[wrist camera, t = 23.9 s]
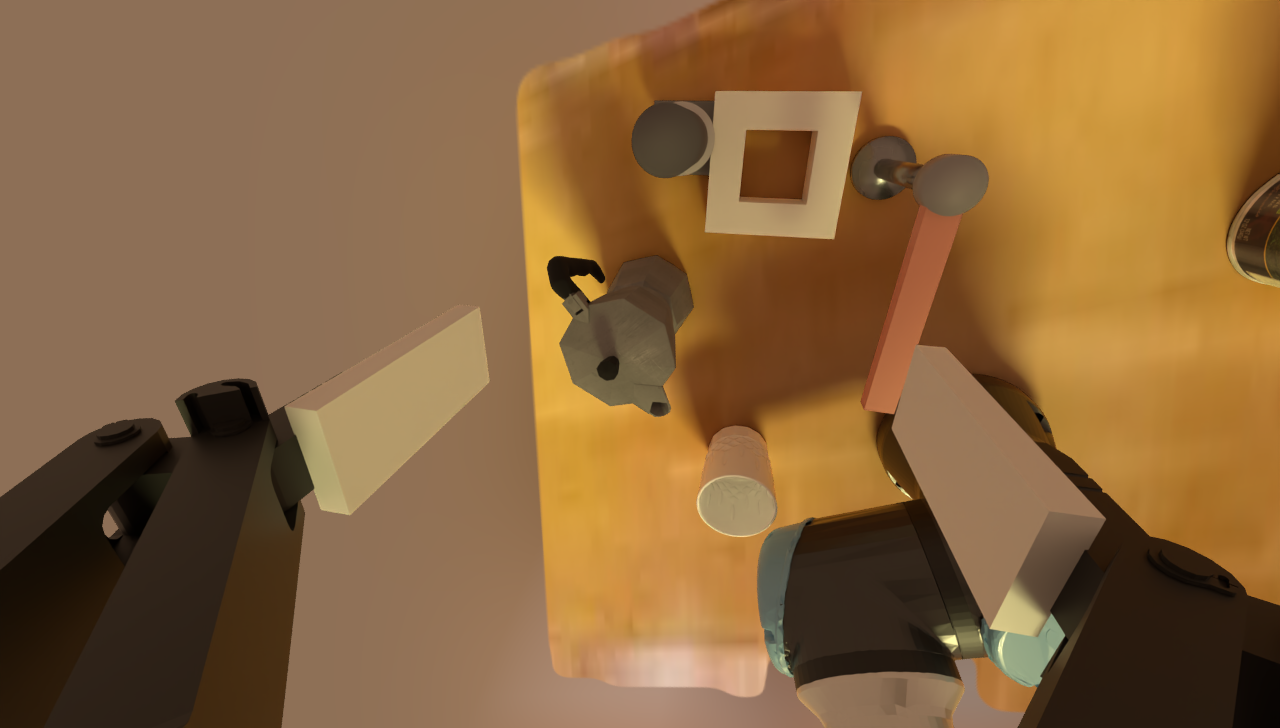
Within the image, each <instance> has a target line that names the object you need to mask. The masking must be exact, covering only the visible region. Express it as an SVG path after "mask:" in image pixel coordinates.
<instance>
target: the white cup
mask: <svg viewBox="0 0 1280 728" xmlns="http://www.w3.org/2000/svg"><path fill="white" fill-rule="evenodd" d="M697 509H698V512H699V514H700V516H701V518H702V519H703V521H704V522H705V523H706V524H707V525H708V526H710V527H711V528H712V529H714V530H716V531H718V532H720V533H722V534H725V535H729V536H735V537H746V536H752V535H756V534H758V533H760V532H762V531H764V530H766V529H767V528H768V527H769V526H770V525H771V524H772V523H773V521H774V520H775V517H776V514H777V501H776V495H775V488H774V480H773V474H772V469H771V464H770V460H769V457H768V451H767V444H766V442H765V441H764V439H763V438H762V436H761V435H760V434H759V433H758V432H756V431H754V430H752V429H751V428H749V427H744V426H737V425H734V426H730V427H726V428H722V429H721V430H720V431H719V432H717V433H716V434H715V435H714V436H713V438H712V440H711V442H710V445H709V449H708V453H707V455H706V459H705V464H704V468H703V472H702V477H701V482H700V487H699V491H698V496H697Z"/></svg>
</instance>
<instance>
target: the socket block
mask: <svg viewBox="0 0 1280 728" xmlns="http://www.w3.org/2000/svg"><path fill="white" fill-rule="evenodd" d="M861 95H862V91H715V103H714V117H713V127H714V132H715V142H714V147H713V151H712V153H711V157H710V171H709V184H708V198H707V211H706V224H705V232H709V233H727V234H746V235H765V236H783V237H802V238H821V239H834V237H835V232H836V226H837V221H838V216H839V211H840V205H841V200H842V195H843V190H844V184H845V179H846V174H847V169H848V163H849V158H850V153H851V148H852V142H853V137H854V132H855V127H856V121H857V116H858V111H859V106H860V100H861ZM746 130H782V131H812V137H811V143H810V149H809V156H808V162H807V169H806V175H805V182H804V188H803V194H802V199H785V198H760V197H740V187H741V177H742V167H743V157H744V148H745V138H746Z"/></svg>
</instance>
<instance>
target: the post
mask: <svg viewBox="0 0 1280 728" xmlns="http://www.w3.org/2000/svg"><path fill="white" fill-rule="evenodd" d="M922 166H923V165H922V164H916V155H915V152H914V150H913V148H912V146H911V145H910V144H909V143H908V142H907V141H905V140H904V139H901V138H899V137H894V136H884V137H879V138H876V139H874V140H871V141H870V142H868V143H867V144H865V145H864V146H863V147H862V148H861V149H860V150H859V151H858V153H857V154H856V155H855V157H854V159H853V162H852V165H851V170H850V176H851V181H852V184H853V186H854V188H855V189H856V190H857V191H858V192H859V193H860V194H861V195H863V196H865V197H867V198H870V199H876V200H881V199H886V198H890V197H892V196H894V195H896V194H898V193H899V192H901V191H902V190H903V189H904V188H905V187H907V188H910V189H913V182H914V179H915V177H916V175H917V173H918V171H919V170H920V169H921V168H922Z"/></svg>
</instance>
